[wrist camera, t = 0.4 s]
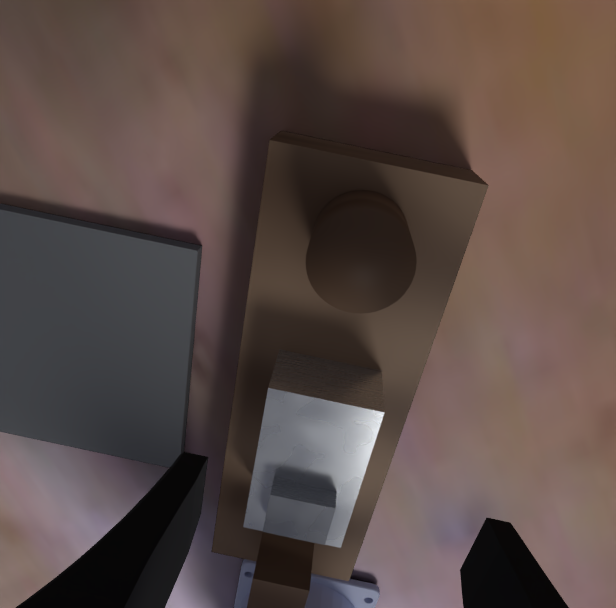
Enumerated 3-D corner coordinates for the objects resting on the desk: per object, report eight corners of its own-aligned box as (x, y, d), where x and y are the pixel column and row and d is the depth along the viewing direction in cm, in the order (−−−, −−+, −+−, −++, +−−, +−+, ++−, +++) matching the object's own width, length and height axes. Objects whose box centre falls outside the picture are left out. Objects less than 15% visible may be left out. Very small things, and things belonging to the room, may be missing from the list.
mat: (183, 461, 25) (179, 469, 24) (-43, 413, 25) (-51, 420, 25) (202, 245, 20) (197, 250, 19) (-85, 185, 20) (-97, 189, 19)
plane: (349, 537, 26) (347, 645, 21) (224, 510, 26) (192, 612, 21) (471, 170, 17) (515, 210, 12) (281, 130, 17) (249, 155, 12)
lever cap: (342, 498, 22) (339, 566, 19) (255, 479, 22) (238, 544, 19) (381, 370, 18) (385, 428, 15) (279, 349, 18) (263, 402, 15)
